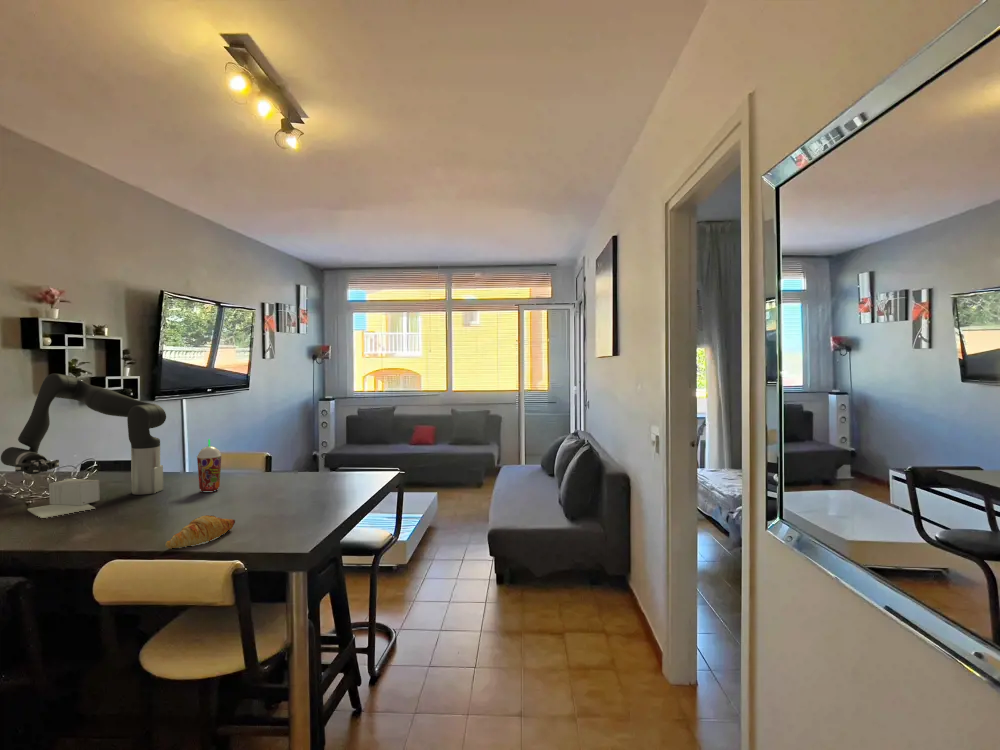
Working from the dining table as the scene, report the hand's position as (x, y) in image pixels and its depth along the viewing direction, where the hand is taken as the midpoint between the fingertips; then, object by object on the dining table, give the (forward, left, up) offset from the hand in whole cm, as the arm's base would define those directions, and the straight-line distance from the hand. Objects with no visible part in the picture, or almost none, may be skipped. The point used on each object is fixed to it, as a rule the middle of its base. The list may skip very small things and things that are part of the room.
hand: (44, 468), depth 189 cm
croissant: (-73, +46, -12) cm, 87 cm away
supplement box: (-7, +3, -7) cm, 10 cm away
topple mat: (-13, +12, -12) cm, 21 cm away
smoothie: (-51, -11, -12) cm, 53 cm away
